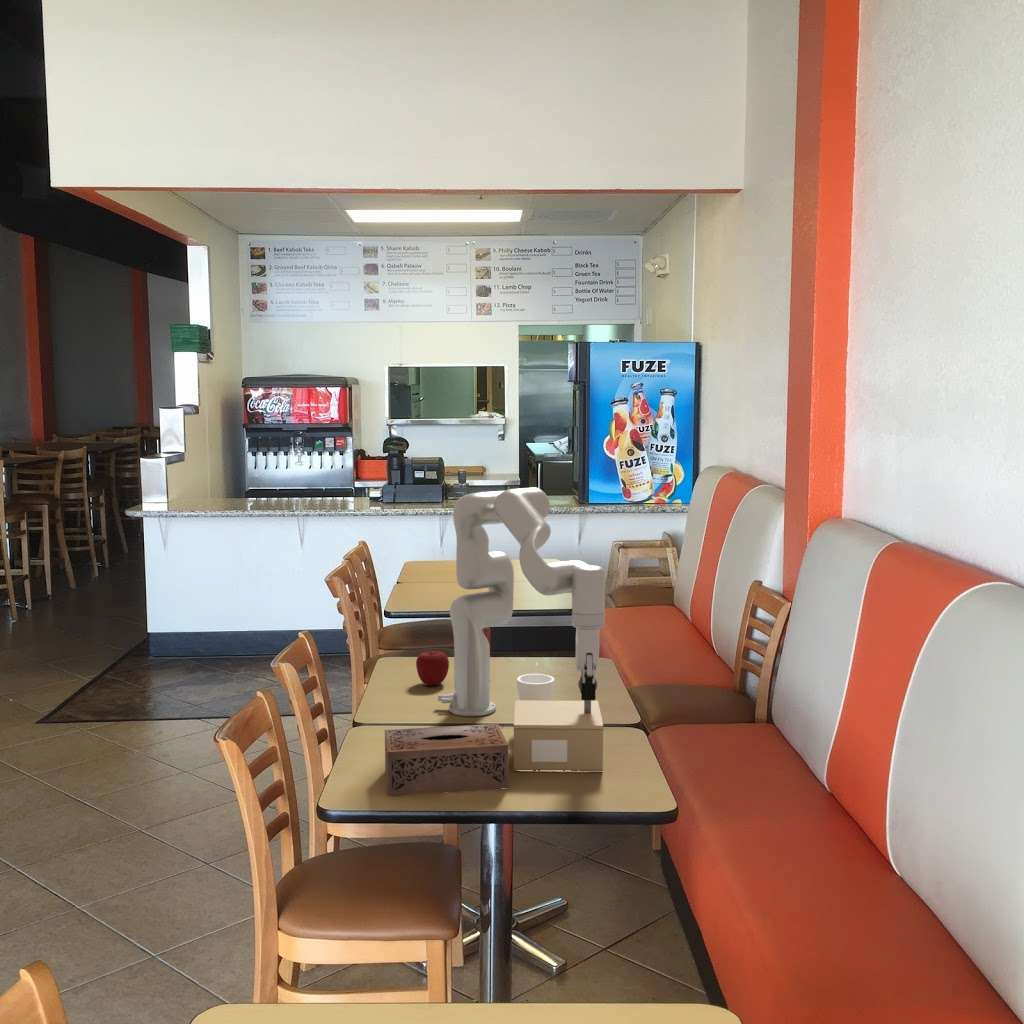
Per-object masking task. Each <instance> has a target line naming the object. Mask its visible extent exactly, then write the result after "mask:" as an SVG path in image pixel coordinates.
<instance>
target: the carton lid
mask: <svg viewBox="0 0 1024 1024" xmlns="http://www.w3.org/2000/svg"><path fill="white" fill-rule="evenodd" d="M581 683H583V677H581V678H579V680H578V683H577V685H578V689H579V691H581ZM595 683H596V690H597V689H598V681H597V679H596V678H595ZM599 703H600V702H599V700H552V701H544V700H519V699H516V700H515V701H514V714H513V715H514V718H513V729H514V728H521V729H603V730H604V724H603V723H604V722H603V718H602V714H601V713H602V712H601V710H600V709H601V708H600V704H599Z"/></svg>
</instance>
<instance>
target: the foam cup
mask: <svg viewBox="0 0 1024 1024" xmlns="http://www.w3.org/2000/svg"><path fill="white" fill-rule="evenodd" d="M516 688H517V690H518V698H519V699H518V700H544V701H553V696H554V689H555V678H554V676H552V675H548V674H544V673H529V674H527V673H525V674H522V675H519V676H518V677H517V678H516Z"/></svg>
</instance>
